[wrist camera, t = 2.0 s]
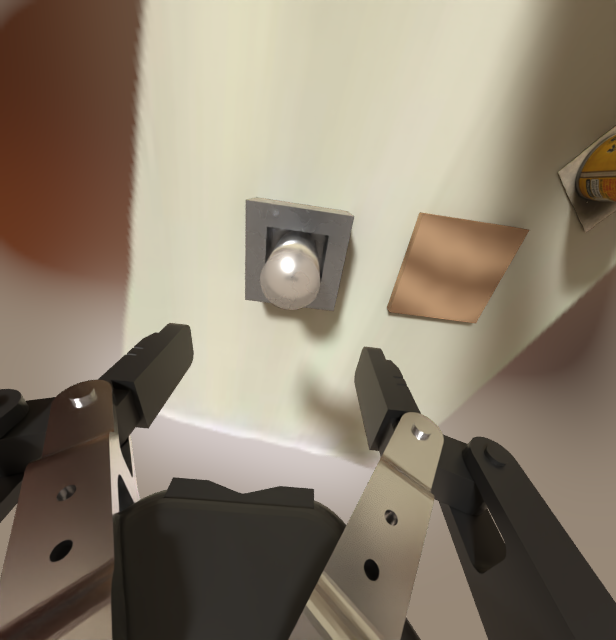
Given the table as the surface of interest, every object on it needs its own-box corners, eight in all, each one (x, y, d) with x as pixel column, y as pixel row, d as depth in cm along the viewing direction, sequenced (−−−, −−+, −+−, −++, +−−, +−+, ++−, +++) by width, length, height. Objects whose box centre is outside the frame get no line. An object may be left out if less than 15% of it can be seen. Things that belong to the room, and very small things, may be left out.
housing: (256, 197, 25) (245, 199, 21) (347, 211, 26) (354, 216, 22) (254, 283, 30) (245, 299, 26) (330, 293, 31) (333, 311, 27)
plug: (277, 227, 26) (261, 248, 17) (320, 233, 26) (325, 257, 18) (274, 269, 28) (259, 305, 20) (314, 274, 29) (315, 313, 20)
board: (419, 212, 26) (424, 213, 25) (520, 228, 27) (529, 229, 26) (386, 307, 32) (389, 311, 31) (470, 318, 33) (475, 323, 32)
